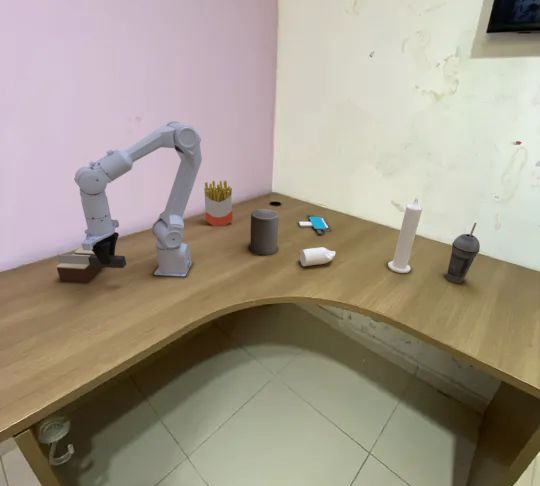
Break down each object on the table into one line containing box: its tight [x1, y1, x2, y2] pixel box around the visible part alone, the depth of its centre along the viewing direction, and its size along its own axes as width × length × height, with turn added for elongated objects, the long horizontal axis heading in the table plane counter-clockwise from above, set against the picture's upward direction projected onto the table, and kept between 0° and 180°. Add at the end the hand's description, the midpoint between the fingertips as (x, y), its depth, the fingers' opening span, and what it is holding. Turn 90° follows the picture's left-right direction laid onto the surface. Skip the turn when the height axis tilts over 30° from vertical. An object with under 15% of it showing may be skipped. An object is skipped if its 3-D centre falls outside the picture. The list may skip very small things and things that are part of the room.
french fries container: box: [204, 180, 233, 227], centre depth 127 cm, size 5×11×18 cm, turn 101°
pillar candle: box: [249, 208, 280, 256], centre depth 109 cm, size 10×10×15 cm
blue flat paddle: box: [298, 214, 331, 236], centre depth 133 cm, size 20×12×2 cm, turn 5°
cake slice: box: [73, 247, 104, 269], centre depth 97 cm, size 8×3×5 cm, turn 88°
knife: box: [56, 253, 127, 269], centre depth 84 cm, size 18×2×3 cm, turn 88°
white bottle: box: [298, 246, 336, 267], centre depth 103 cm, size 6×12×6 cm, turn 105°
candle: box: [387, 196, 423, 274], centre depth 98 cm, size 7×7×25 cm
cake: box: [55, 253, 102, 284], centre depth 91 cm, size 8×7×5 cm
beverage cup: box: [446, 222, 481, 284], centre depth 95 cm, size 7×7×20 cm
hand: (107, 261), depth 84 cm, fingers closed on knife, 2 cm apart
